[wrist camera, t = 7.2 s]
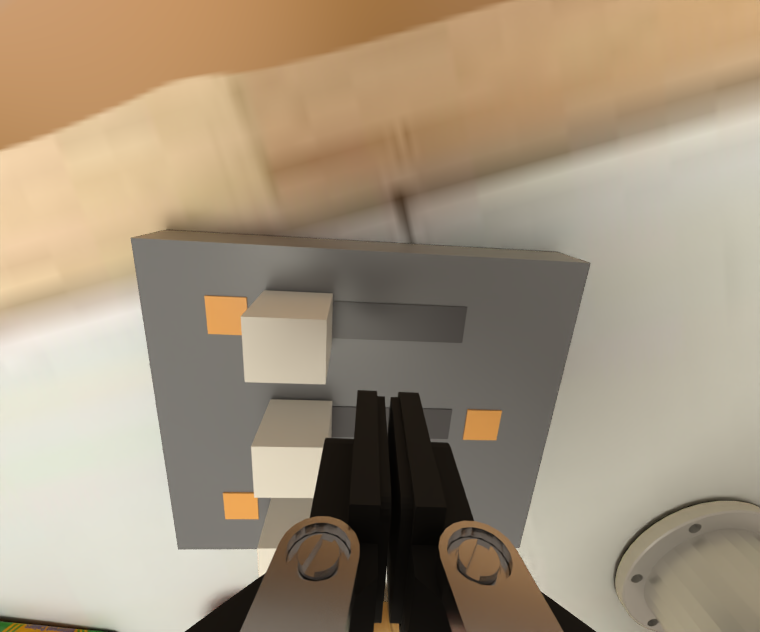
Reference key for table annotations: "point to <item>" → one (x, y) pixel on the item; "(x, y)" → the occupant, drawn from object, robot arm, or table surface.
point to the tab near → (287, 337)
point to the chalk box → (36, 628)
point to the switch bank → (355, 360)
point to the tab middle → (290, 448)
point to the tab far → (279, 526)
